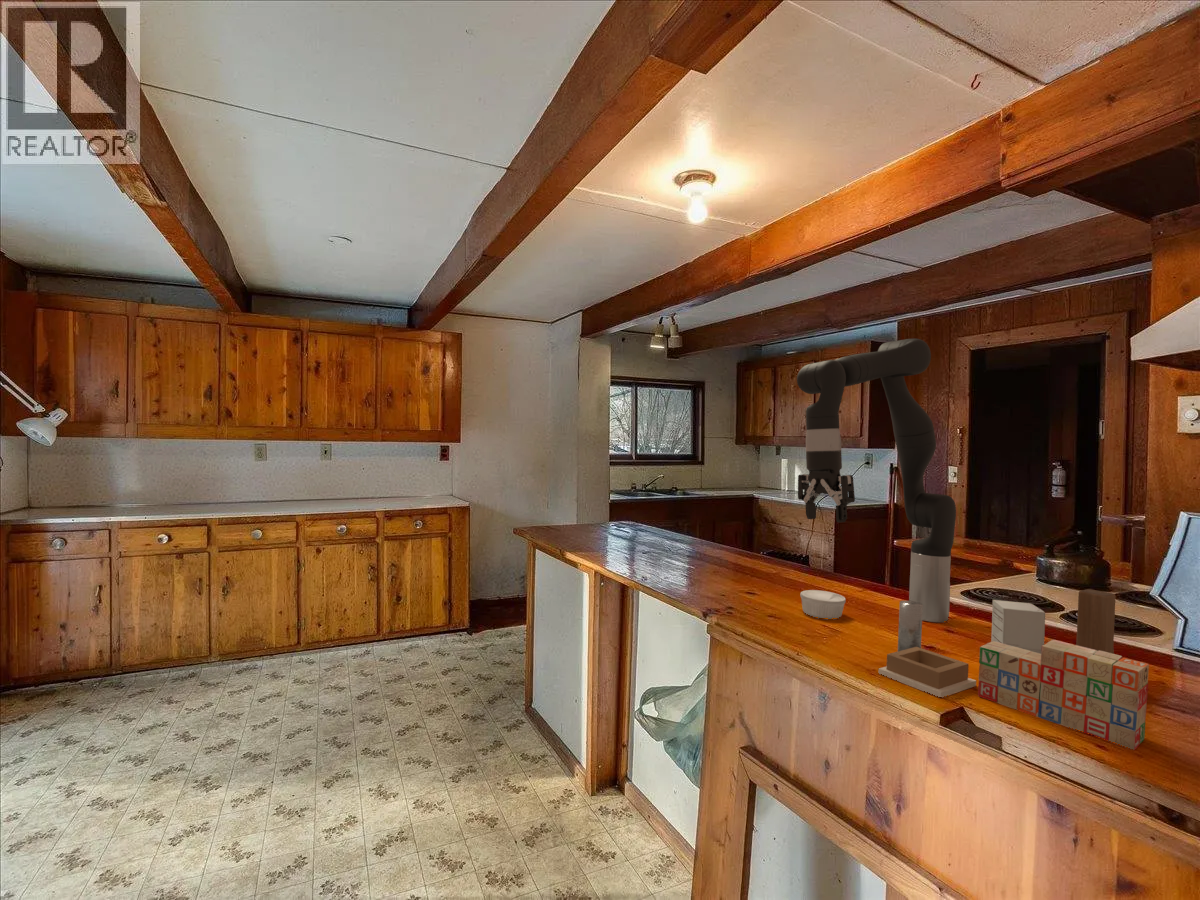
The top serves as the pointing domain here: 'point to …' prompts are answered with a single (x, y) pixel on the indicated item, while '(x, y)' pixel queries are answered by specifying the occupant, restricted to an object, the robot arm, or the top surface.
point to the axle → (910, 625)
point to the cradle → (928, 671)
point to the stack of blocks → (1069, 687)
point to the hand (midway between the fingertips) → (825, 520)
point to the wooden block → (1096, 620)
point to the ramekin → (822, 603)
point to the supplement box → (1018, 625)
